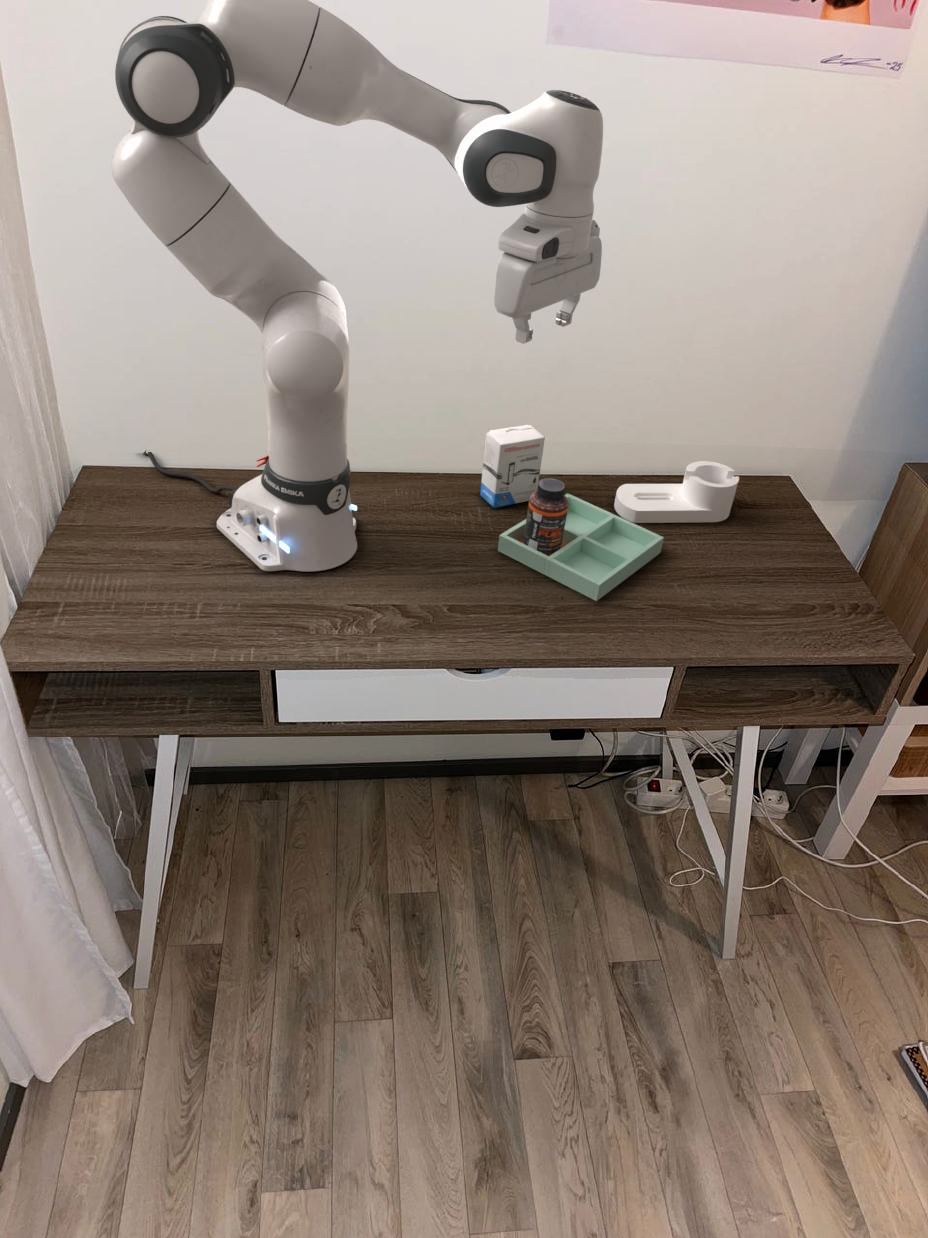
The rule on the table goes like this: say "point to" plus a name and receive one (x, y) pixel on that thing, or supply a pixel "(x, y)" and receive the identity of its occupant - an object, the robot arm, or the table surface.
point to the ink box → (511, 465)
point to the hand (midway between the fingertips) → (543, 332)
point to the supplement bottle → (546, 517)
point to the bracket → (681, 497)
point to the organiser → (588, 549)
